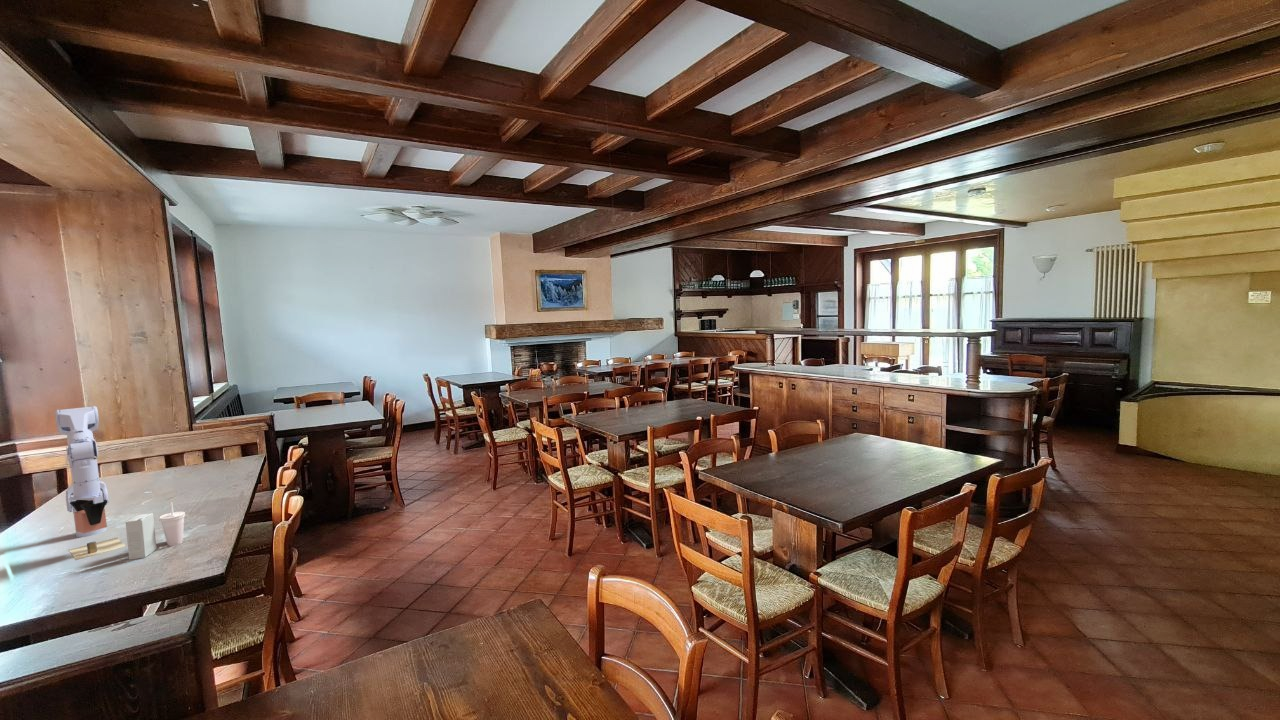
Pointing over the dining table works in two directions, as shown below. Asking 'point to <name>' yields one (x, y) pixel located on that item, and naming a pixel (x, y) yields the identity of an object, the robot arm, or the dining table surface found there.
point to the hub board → (100, 549)
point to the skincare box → (141, 536)
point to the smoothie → (173, 526)
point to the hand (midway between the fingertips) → (91, 522)
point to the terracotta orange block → (84, 524)
